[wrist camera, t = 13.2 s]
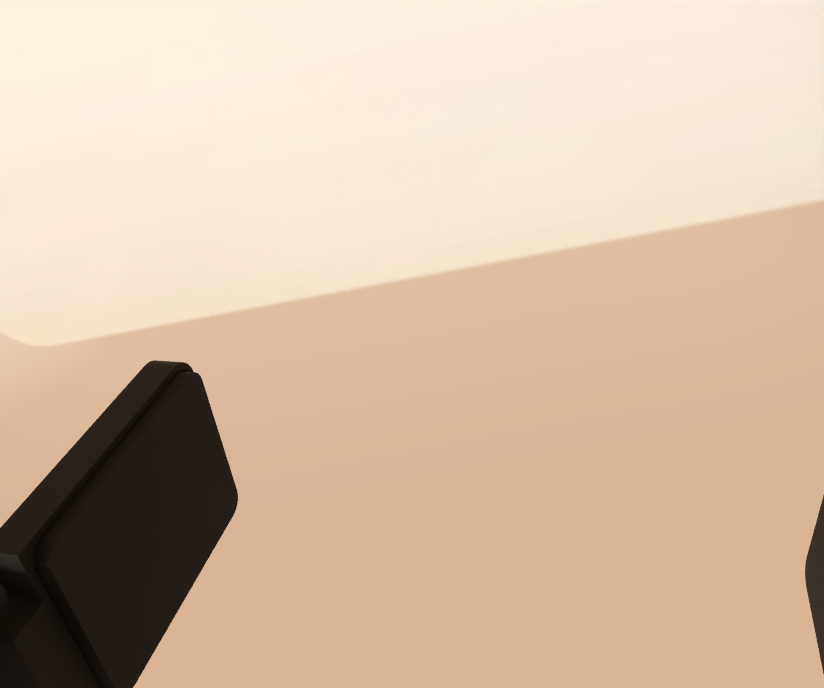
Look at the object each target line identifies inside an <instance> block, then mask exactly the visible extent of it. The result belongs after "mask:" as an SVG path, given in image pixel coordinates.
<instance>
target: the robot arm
mask: <svg viewBox="0 0 824 688" xmlns="http://www.w3.org/2000/svg"><path fill="white" fill-rule="evenodd" d="M237 501H238V494H237V489H236V486H235V483H234V480H233V476H232V473H231V470H230V467H229V464H228V461H227V457H226V454H225V451H224V448H223V445H222V441H221V438H220V435H219V432H218V429H217V425H216V423H215V419H214V416H213V413H212V410H211V407H210V403H209V400H208V397H207V394H206V391H205V388H204V385H203V381H202V379H201V376H200V375H199V374H198V373H195V372H193V370H192V368H191V367H190V366H189V365H188V364H186V363H183V362H169V361H151V362H149V363H147V364H146V365H145V366H144V367H143V368H142V370H141V371H140V372H139V373H138V374H137V375H136V376H135V377H134V379H133V380H132V381H131V382H130V383H129V384H128V385H127V386H126V388H125V389H124V390H123V391H122V392H121V393H120V394H119V395H118V396H117V398H116V399H115V400H114V401H113V402H112V403H111V404H110V405H109V407H108V408H107V409H106V410H105V411H104V412H103V413H102V414H101V416H100V417H99V418H98V419H97V420H96V421H95V422H94V423H93V425H92V426H91V427H90V428H89V429H88V430H87V431H86V432H85V434H84V435H83V436H82V437H81V438H80V439H79V440H78V441H77V442H76V444H75V445H74V446H73V447H72V448H71V449H70V450H69V452H68V453H67V454H66V455H65V456H64V457H63V458H62V459H61V460H60V462H59V463H58V464H57V465H56V466H55V467H54V468H53V469H52V471H51V472H50V473H49V474H48V475H47V476H46V477H45V479H44V480H43V481H42V482H41V483H40V484H39V485H38V486H37V487H36V489H35V490H34V491H33V492H32V493H31V494H30V495H29V497H28V498H27V499H26V500H25V501H24V502H23V503H22V504H21V505H20V507H19V508H18V509H17V510H16V511H15V512H14V513H13V514H12V516H11V517H10V518H9V519H8V520H7V521H6V522H5V523H4V525H3V526H2V527H1V528H0V688H133V686H134V685H135V684H136V682H137V680H138V678H139V677H140V675H141V673H142V672H143V670H144V668H145V666H146V665H147V663H148V661H149V659H150V658H151V656H152V654H153V653H154V651H155V649H156V647H157V646H158V644H159V642H160V641H161V639H162V637H163V635H164V634H165V632H166V630H167V629H168V627H169V625H170V623H171V622H172V620H173V618H174V616H175V615H176V613H177V611H178V610H179V608H180V606H181V604H182V602H183V601H184V599H185V598H186V596H187V594H188V592H189V591H190V589H191V587H192V586H193V584H194V582H195V580H196V578H197V577H198V575H199V573H200V572H201V570H202V568H203V566H204V565H205V563H206V561H207V560H208V558H209V556H210V554H211V553H212V551H213V549H214V548H215V546H216V544H217V542H218V541H219V539H220V537H221V536H222V534H223V532H224V530H225V529H226V527H227V525H228V524H229V522H230V520H231V518H232V517H233V515H234V513H235V510H236V507H237ZM805 578H806V587H807V592H808V597H809V602H810V607H811V612H812V617H813V622H814V628H815V632H816V637H817V643H818V648H819V653H820V658H821V663H822V668H823V673H824V497H823V500H822V504H821V507H820V511H819V515H818V518H817V522H816V526H815V529H814V533H813V537H812V540H811V544H810V547H809V551H808V555H807V560H806V568H805Z"/></svg>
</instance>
